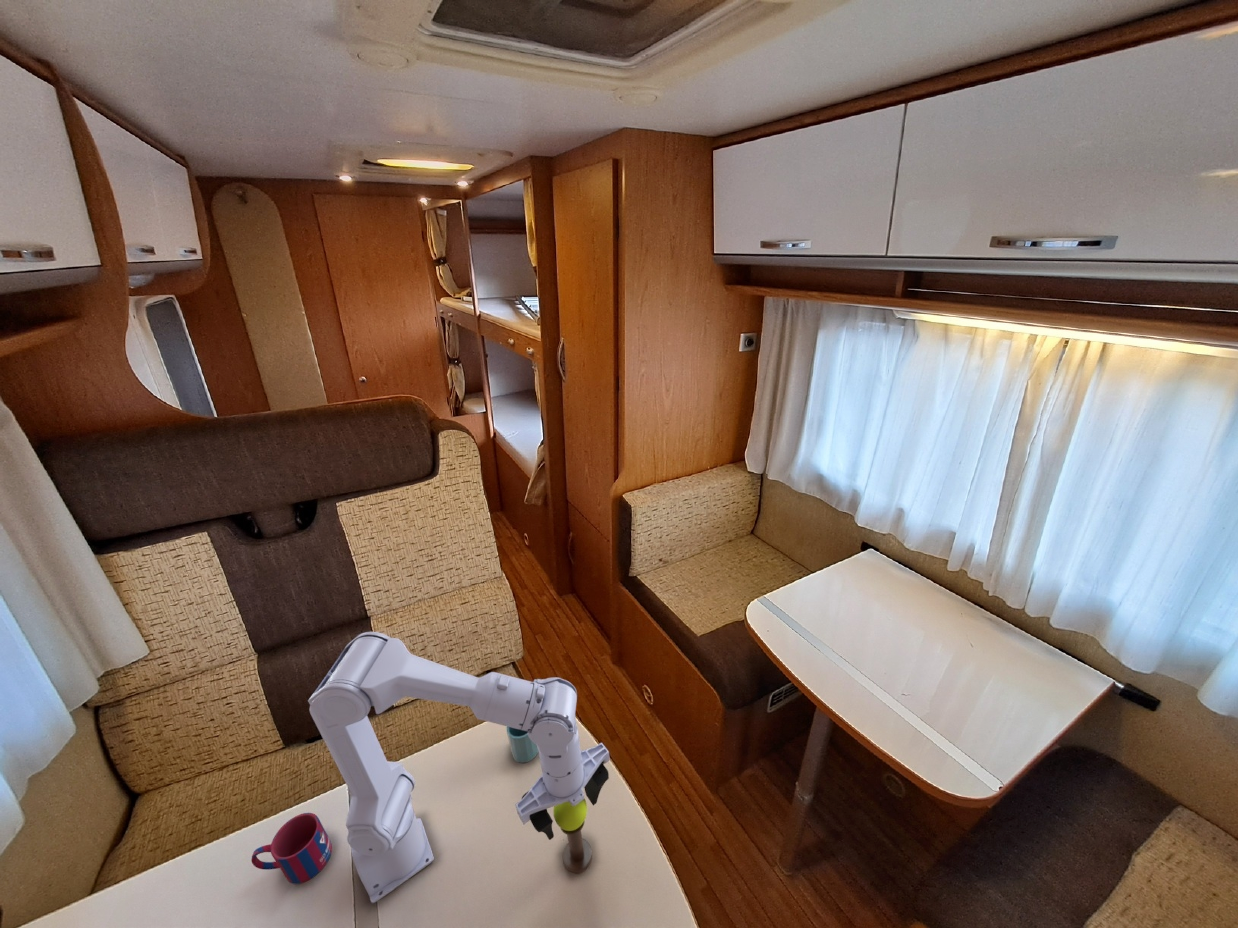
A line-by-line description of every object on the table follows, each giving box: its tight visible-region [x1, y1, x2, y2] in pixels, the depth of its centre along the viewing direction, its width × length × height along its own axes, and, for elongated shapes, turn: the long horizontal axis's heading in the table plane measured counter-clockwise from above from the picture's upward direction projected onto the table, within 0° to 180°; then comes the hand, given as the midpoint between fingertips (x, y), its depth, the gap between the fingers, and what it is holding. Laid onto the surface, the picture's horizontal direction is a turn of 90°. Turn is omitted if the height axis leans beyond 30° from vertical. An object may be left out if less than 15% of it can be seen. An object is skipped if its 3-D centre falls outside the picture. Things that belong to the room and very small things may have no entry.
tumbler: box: [506, 726, 539, 764], centre depth 93 cm, size 5×5×7 cm
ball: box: [553, 798, 588, 831], centre depth 72 cm, size 5×5×5 cm
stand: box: [560, 819, 593, 874], centre depth 75 cm, size 5×5×10 cm
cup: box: [250, 812, 333, 885], centre depth 78 cm, size 7×10×7 cm
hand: (570, 815), depth 73 cm, fingers open, 7 cm apart
